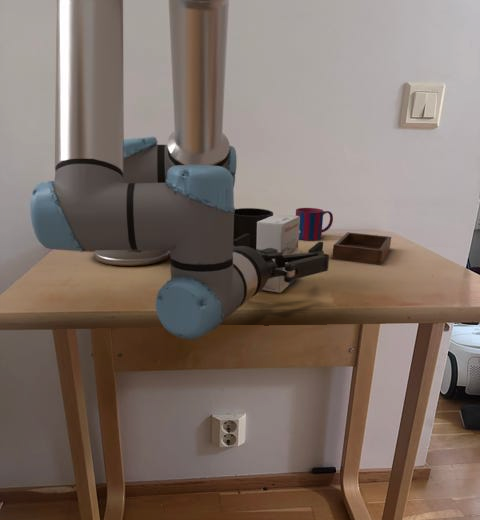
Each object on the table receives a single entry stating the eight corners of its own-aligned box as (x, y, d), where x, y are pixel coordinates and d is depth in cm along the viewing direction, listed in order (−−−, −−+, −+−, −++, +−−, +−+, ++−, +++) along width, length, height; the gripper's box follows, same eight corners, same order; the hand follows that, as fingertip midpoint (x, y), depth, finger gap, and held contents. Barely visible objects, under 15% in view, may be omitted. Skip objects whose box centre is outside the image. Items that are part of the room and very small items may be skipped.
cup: (290, 235, 124) (292, 208, 121) (326, 233, 126) (328, 207, 124) (300, 241, 118) (302, 212, 115) (337, 239, 120) (340, 211, 118)
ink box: (272, 276, 91) (275, 213, 86) (297, 280, 89) (301, 215, 84) (253, 289, 84) (255, 220, 79) (279, 293, 82) (283, 224, 77)
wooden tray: (332, 258, 103) (333, 244, 102) (346, 244, 115) (347, 232, 114) (380, 264, 100) (382, 250, 99) (389, 249, 112) (391, 236, 111)
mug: (284, 260, 101) (287, 216, 98) (227, 259, 101) (227, 215, 98) (281, 249, 110) (283, 208, 107) (228, 247, 110) (229, 207, 107)
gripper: (159, 289, 74) (219, 256, 92) (318, 317, 65) (350, 275, 83) (157, 241, 71) (220, 217, 89) (323, 262, 62) (355, 231, 80)
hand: (283, 245), depth 86 cm, fingers open, 13 cm apart
